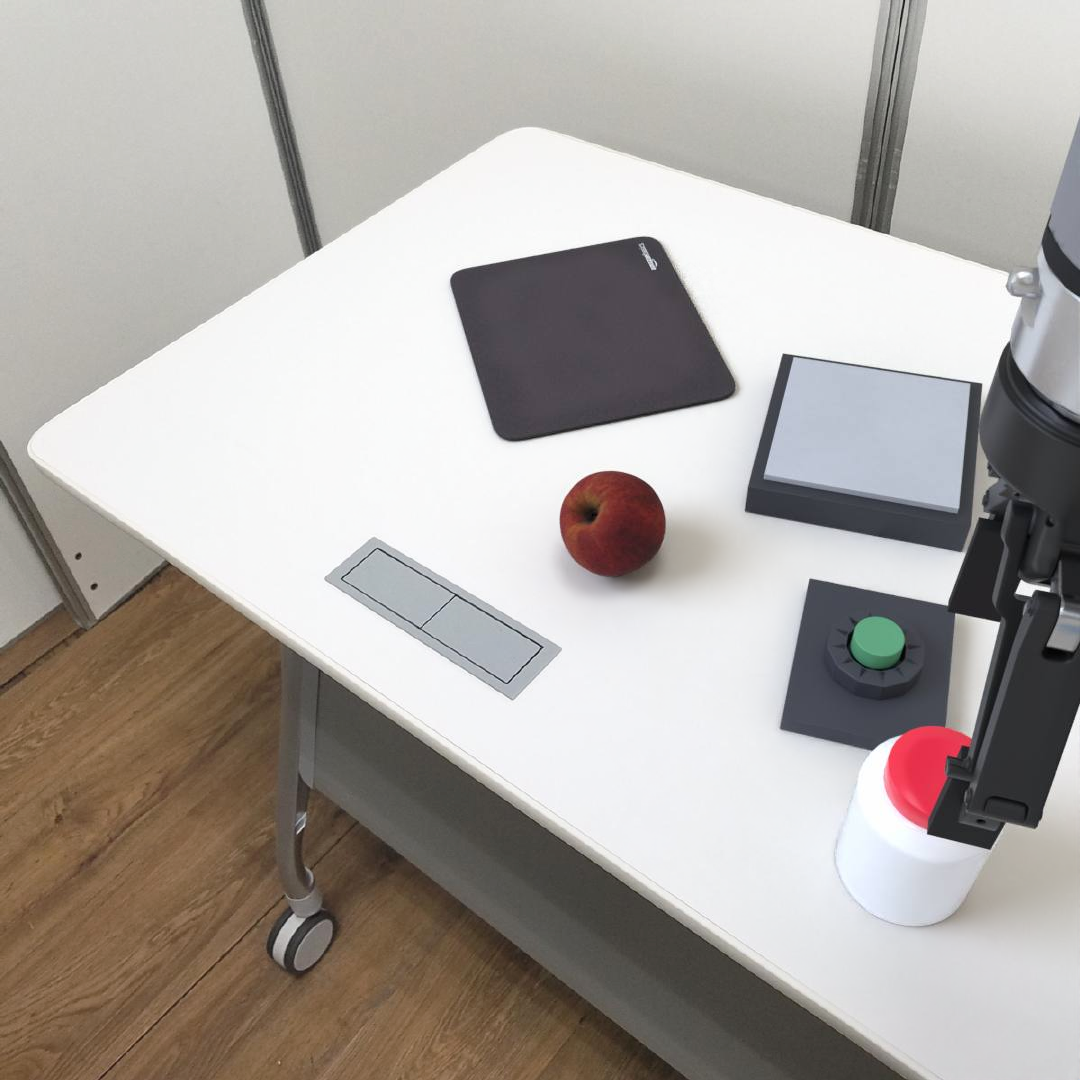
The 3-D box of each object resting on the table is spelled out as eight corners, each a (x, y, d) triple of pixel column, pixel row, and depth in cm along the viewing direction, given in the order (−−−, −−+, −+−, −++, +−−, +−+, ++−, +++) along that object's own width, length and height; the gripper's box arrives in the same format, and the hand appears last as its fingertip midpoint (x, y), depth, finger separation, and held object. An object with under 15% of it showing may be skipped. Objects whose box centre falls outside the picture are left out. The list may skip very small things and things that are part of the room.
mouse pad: (741, 395, 93) (742, 393, 92) (498, 444, 90) (497, 442, 90) (655, 234, 109) (655, 233, 109) (446, 273, 106) (446, 271, 106)
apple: (547, 536, 84) (541, 462, 78) (641, 508, 85) (643, 433, 79) (581, 608, 79) (578, 535, 73) (680, 577, 80) (685, 502, 74)
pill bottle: (942, 952, 62) (992, 868, 53) (813, 883, 65) (842, 793, 56) (987, 842, 66) (1041, 748, 57) (864, 782, 69) (898, 684, 60)
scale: (961, 552, 80) (973, 521, 78) (744, 511, 84) (748, 480, 82) (974, 409, 90) (984, 377, 88) (779, 378, 94) (783, 347, 91)
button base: (938, 766, 69) (949, 741, 67) (779, 729, 71) (784, 704, 69) (951, 619, 76) (961, 592, 74) (807, 589, 79) (812, 563, 77)
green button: (897, 674, 71) (902, 660, 69) (847, 663, 71) (851, 650, 70) (902, 635, 73) (907, 621, 71) (853, 625, 73) (857, 611, 72)
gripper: (1015, 166, 45) (910, 518, 61) (985, 631, 30) (857, 934, 46) (1216, 187, 43) (1053, 544, 59) (1291, 693, 28) (1046, 985, 44)
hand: (967, 715), depth 53 cm, fingers open, 12 cm apart
